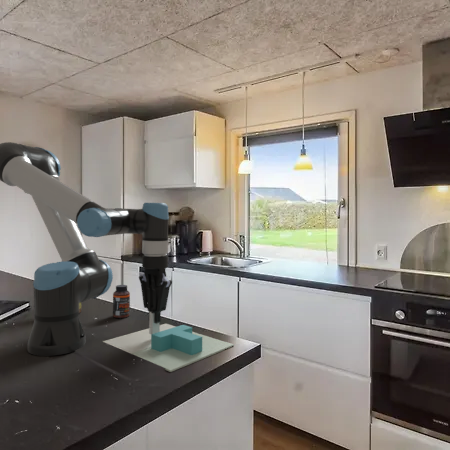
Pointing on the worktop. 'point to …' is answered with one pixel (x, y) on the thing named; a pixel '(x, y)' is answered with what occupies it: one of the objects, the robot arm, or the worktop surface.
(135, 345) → the board
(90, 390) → the worktop surface
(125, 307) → the supplement bottle
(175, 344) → the t block
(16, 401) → the worktop surface
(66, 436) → the worktop surface
